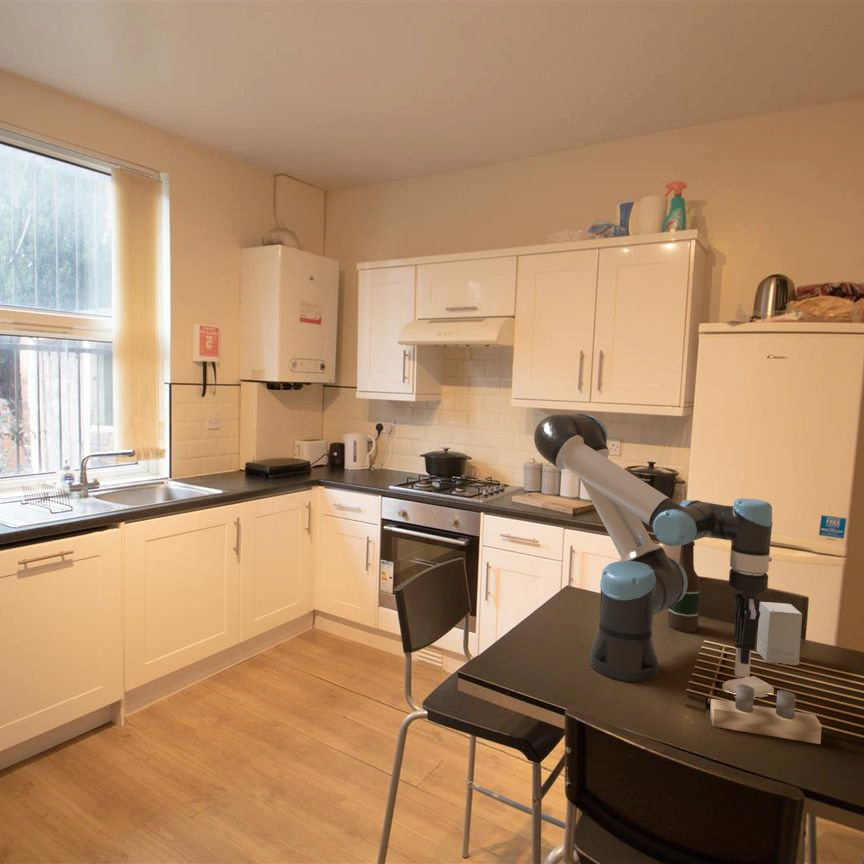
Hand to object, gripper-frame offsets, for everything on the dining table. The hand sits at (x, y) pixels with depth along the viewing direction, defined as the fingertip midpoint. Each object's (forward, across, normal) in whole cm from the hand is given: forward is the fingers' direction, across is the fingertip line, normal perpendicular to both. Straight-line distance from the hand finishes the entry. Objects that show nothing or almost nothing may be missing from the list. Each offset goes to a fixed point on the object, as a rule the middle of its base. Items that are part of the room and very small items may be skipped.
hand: (741, 675), depth 135 cm
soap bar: (+2, -5, 0) cm, 5 cm away
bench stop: (+2, -20, 0) cm, 20 cm away
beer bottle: (+2, +30, +8) cm, 31 cm away
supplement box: (+2, +17, -11) cm, 20 cm away
